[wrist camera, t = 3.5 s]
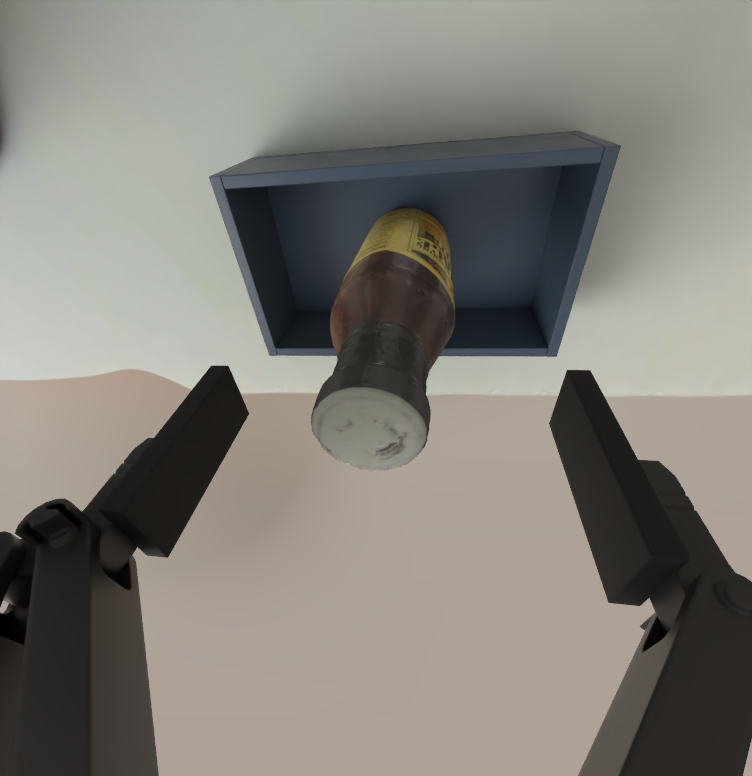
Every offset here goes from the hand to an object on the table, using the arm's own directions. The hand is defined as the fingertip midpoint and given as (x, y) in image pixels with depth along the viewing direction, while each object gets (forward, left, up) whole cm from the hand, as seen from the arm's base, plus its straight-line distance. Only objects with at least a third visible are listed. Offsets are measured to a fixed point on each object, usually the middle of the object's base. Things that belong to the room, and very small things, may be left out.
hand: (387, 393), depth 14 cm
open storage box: (0, 0, -17) cm, 17 cm away
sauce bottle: (0, 0, -17) cm, 17 cm away
